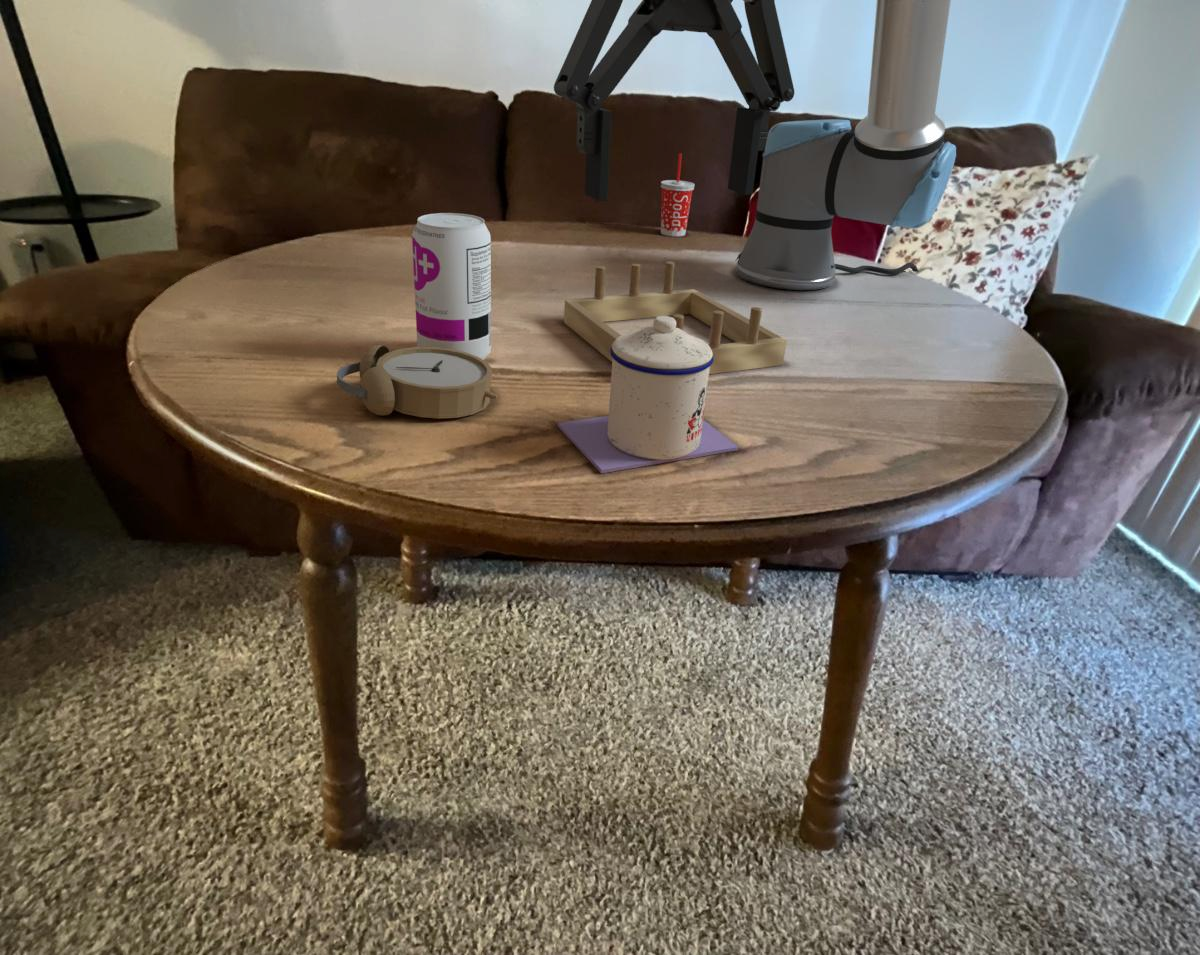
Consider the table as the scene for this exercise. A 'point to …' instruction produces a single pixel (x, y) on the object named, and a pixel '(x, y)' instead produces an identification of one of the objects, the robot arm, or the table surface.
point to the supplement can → (453, 282)
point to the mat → (608, 458)
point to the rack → (751, 338)
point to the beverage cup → (675, 205)
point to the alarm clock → (420, 382)
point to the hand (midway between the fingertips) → (670, 195)
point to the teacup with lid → (658, 391)
